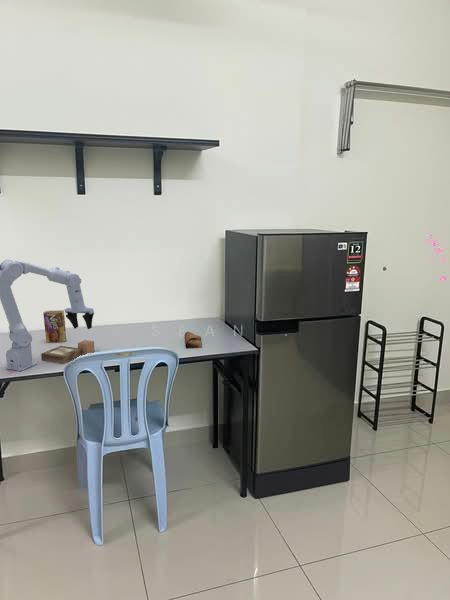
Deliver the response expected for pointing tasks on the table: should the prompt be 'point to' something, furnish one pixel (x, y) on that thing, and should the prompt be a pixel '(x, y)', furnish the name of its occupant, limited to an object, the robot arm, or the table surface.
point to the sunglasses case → (192, 340)
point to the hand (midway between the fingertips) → (83, 328)
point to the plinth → (61, 354)
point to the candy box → (54, 326)
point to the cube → (86, 346)
